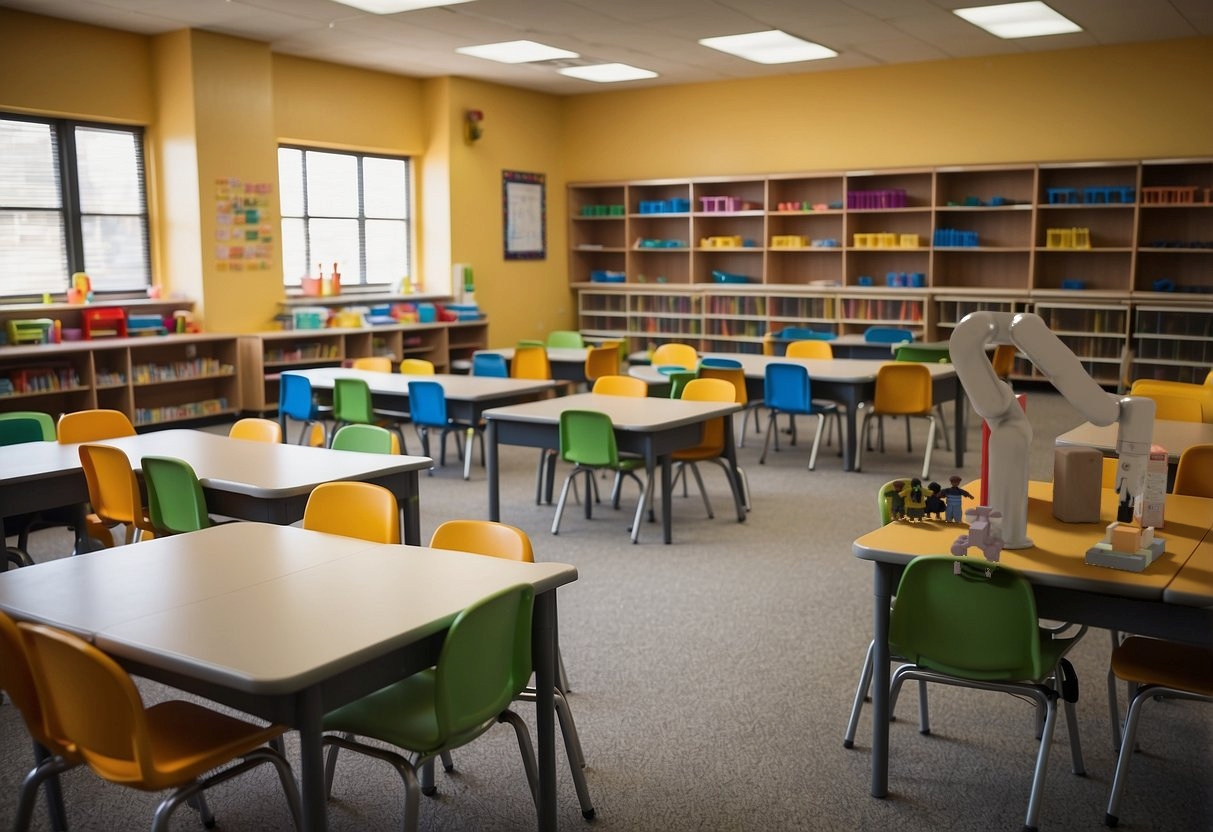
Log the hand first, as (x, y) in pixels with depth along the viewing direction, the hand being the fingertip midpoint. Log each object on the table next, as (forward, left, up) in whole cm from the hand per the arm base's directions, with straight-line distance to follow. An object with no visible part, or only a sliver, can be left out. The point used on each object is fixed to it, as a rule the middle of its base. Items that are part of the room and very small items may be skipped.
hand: (1124, 521), depth 263 cm
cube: (-5, -6, -5) cm, 9 cm away
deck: (-2, -3, -8) cm, 9 cm away
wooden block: (+17, +33, -8) cm, 39 cm away
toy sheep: (-39, +5, -8) cm, 40 cm away
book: (+14, +59, -8) cm, 61 cm away
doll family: (-21, +48, -8) cm, 53 cm away
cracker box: (+32, +22, -8) cm, 40 cm away
